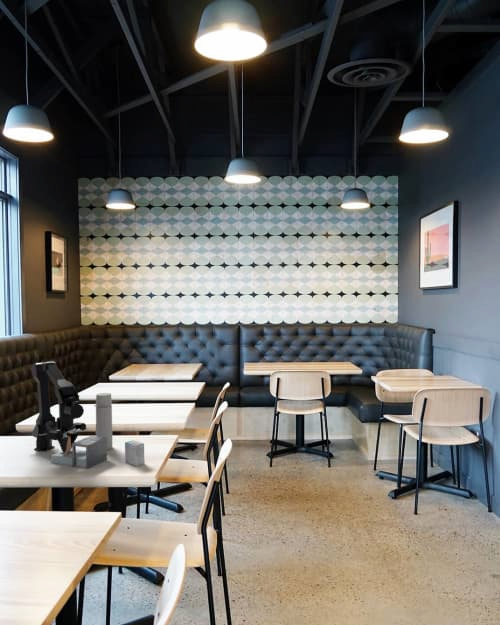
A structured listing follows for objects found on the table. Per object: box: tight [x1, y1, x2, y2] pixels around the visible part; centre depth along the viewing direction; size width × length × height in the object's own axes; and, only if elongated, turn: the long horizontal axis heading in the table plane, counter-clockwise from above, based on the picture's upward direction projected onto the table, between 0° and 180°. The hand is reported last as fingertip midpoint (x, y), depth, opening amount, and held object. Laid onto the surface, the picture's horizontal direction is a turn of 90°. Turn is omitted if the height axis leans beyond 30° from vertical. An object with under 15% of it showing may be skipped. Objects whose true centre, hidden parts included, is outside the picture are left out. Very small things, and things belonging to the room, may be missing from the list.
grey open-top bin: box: [71, 435, 108, 469], centre depth 207 cm, size 12×8×10 cm, turn 159°
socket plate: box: [50, 449, 86, 468], centre depth 209 cm, size 10×19×3 cm, turn 69°
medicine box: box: [124, 439, 145, 467], centre depth 206 cm, size 8×4×9 cm, turn 47°
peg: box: [63, 435, 71, 455], centre depth 211 cm, size 3×3×9 cm
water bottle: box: [94, 392, 113, 451], centre depth 227 cm, size 9×8×25 cm
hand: (66, 450), depth 211 cm, fingers closed on peg, 3 cm apart
